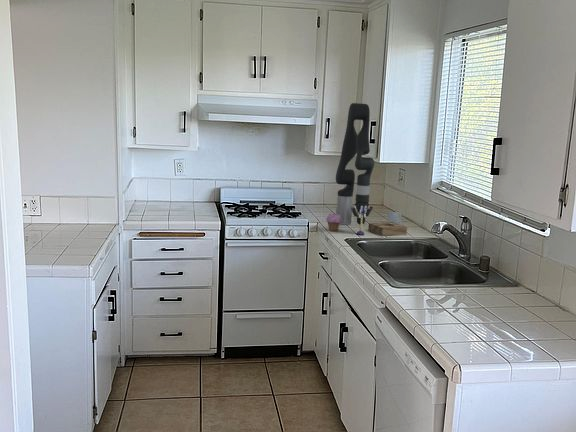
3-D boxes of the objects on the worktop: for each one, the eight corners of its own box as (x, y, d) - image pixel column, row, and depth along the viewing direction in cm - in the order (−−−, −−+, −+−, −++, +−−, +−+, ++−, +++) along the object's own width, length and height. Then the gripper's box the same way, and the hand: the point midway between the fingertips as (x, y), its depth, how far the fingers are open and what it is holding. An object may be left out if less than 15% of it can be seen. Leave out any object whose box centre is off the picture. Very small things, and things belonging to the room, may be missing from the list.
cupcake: (324, 228, 340) (325, 211, 338) (338, 228, 342) (339, 212, 340) (328, 232, 332) (329, 214, 330) (342, 232, 333) (343, 214, 331)
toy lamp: (354, 234, 329) (356, 204, 326) (358, 233, 332) (360, 204, 329) (361, 235, 326) (363, 206, 323) (366, 234, 329) (368, 205, 326)
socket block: (368, 230, 340) (368, 222, 339) (391, 229, 346) (391, 221, 345) (382, 236, 326) (383, 227, 326) (406, 234, 333) (406, 226, 332)
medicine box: (400, 226, 355) (402, 212, 354) (400, 228, 351) (401, 213, 349) (387, 225, 357) (388, 211, 356) (387, 226, 353) (388, 212, 351)
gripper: (369, 192, 331) (367, 222, 334) (348, 192, 325) (346, 223, 328) (376, 194, 324) (374, 224, 327) (355, 194, 318) (353, 225, 322)
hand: (360, 223), depth 328 cm, fingers closed on toy lamp
